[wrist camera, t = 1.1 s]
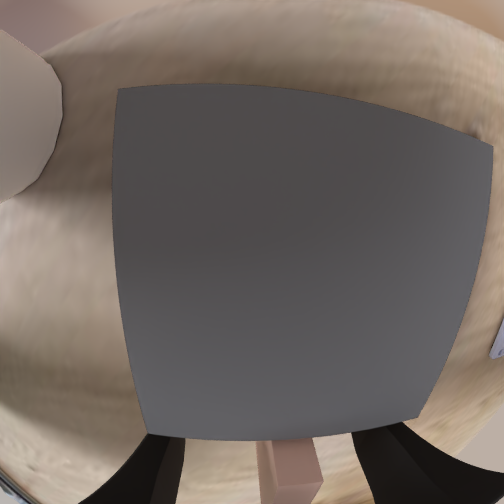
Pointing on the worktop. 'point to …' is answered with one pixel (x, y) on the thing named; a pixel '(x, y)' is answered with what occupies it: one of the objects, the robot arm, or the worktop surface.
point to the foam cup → (25, 115)
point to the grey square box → (289, 257)
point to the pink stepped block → (288, 471)
